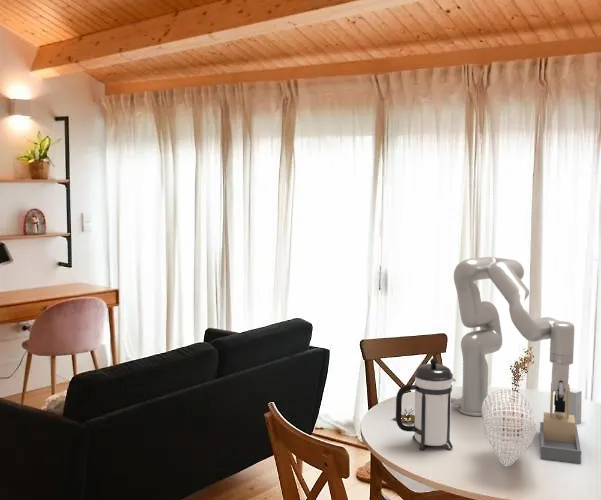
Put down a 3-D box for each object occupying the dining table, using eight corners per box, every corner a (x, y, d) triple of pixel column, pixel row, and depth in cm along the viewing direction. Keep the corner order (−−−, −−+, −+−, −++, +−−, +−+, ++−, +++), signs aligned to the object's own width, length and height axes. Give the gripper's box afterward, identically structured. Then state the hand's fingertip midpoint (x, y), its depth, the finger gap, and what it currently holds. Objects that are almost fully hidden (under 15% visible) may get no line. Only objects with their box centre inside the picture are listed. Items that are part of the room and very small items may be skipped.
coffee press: (424, 432, 243) (425, 350, 240) (462, 444, 232) (465, 358, 229) (394, 445, 231) (395, 359, 228) (433, 459, 219) (435, 368, 216)
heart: (480, 446, 230) (481, 382, 228) (527, 450, 226) (530, 385, 224) (482, 481, 203) (484, 409, 200) (537, 487, 199) (539, 413, 197)
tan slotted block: (550, 417, 233) (551, 387, 232) (550, 411, 238) (551, 382, 237) (568, 419, 231) (569, 388, 230) (567, 413, 236) (568, 384, 235)
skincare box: (581, 422, 253) (583, 390, 252) (575, 424, 250) (576, 392, 249) (566, 417, 258) (567, 386, 256) (559, 420, 255) (561, 389, 253)
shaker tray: (540, 458, 220) (541, 434, 219) (539, 432, 242) (540, 411, 241) (580, 463, 216) (581, 439, 215) (576, 436, 238) (577, 414, 238)
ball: (554, 418, 234) (554, 408, 233) (553, 415, 237) (554, 405, 237) (564, 419, 233) (565, 410, 232) (564, 416, 236) (564, 406, 235)
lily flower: (385, 420, 256) (385, 408, 256) (406, 413, 264) (406, 401, 264) (410, 429, 247) (410, 416, 247) (430, 421, 255) (430, 409, 255)
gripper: (549, 350, 242) (547, 400, 244) (550, 363, 226) (548, 415, 228) (571, 352, 239) (569, 402, 241) (574, 365, 223) (572, 418, 225)
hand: (559, 408), depth 234 cm, fingers closed on tan slotted block, 5 cm apart
